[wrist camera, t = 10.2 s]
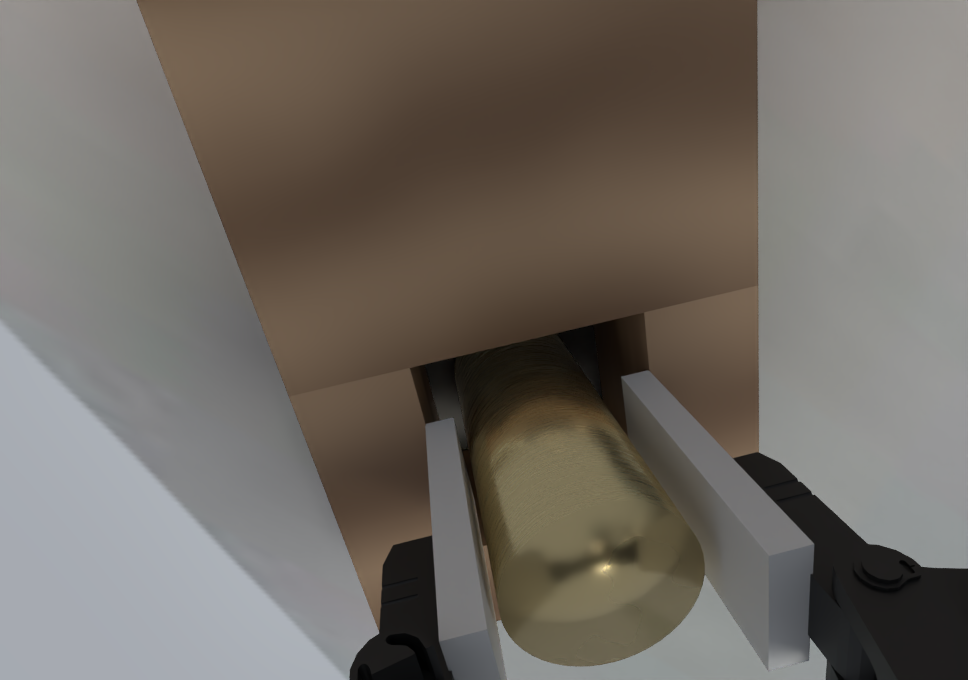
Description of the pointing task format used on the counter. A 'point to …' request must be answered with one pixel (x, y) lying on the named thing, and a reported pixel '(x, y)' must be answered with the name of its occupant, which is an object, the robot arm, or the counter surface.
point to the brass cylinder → (570, 511)
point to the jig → (476, 208)
